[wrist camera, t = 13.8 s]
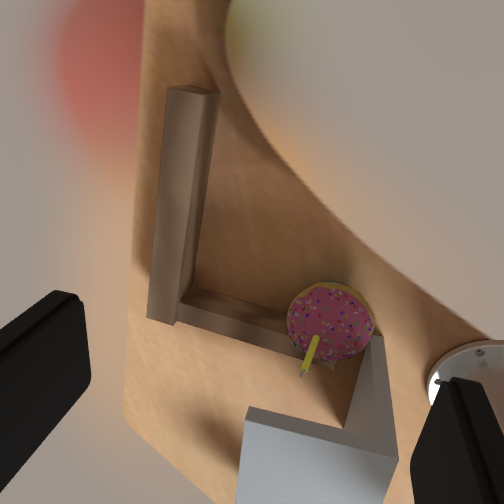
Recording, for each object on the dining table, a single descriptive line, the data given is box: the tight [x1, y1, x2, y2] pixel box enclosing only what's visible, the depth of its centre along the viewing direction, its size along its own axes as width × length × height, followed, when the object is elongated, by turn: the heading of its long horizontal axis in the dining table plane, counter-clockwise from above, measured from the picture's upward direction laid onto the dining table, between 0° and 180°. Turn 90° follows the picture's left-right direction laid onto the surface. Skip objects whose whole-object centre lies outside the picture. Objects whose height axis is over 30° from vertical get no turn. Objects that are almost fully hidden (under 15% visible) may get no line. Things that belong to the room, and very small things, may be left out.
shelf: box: [235, 335, 399, 504], centre depth 41 cm, size 12×15×16 cm
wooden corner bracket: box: [146, 85, 336, 369], centre depth 39 cm, size 21×24×5 cm
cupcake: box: [287, 282, 375, 377], centre depth 38 cm, size 9×8×12 cm
